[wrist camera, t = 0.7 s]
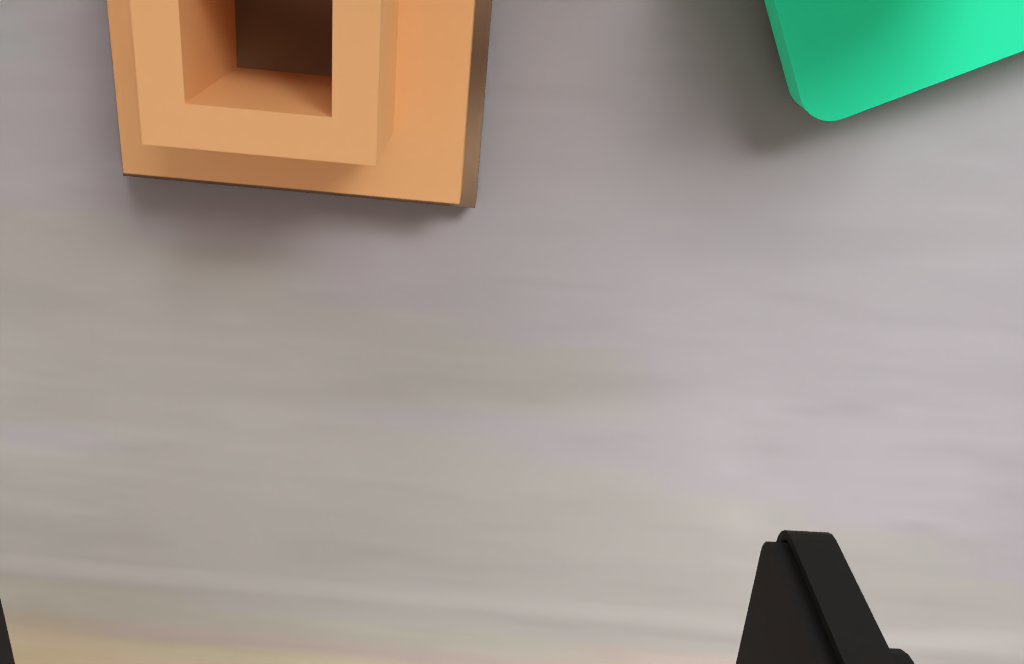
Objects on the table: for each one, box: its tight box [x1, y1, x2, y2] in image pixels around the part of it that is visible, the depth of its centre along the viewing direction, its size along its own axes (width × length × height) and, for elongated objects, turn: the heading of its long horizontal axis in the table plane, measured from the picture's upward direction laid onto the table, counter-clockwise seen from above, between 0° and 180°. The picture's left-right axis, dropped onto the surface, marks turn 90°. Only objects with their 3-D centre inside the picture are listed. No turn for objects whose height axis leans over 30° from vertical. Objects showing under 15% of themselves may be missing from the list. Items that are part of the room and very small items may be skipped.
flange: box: [107, 0, 475, 204], centre depth 27 cm, size 11×11×5 cm
